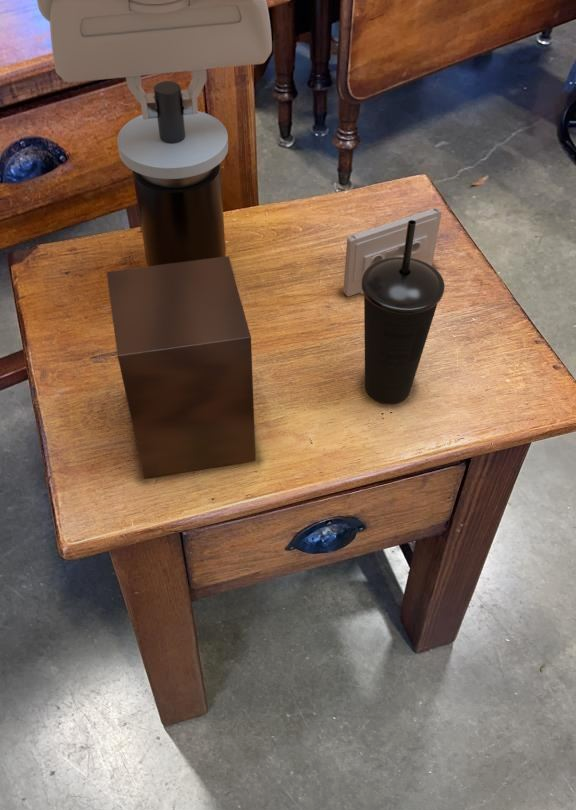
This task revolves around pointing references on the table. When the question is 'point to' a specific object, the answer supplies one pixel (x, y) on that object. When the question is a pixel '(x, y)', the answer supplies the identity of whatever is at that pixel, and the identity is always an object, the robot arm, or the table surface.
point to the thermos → (181, 217)
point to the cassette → (389, 246)
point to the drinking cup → (397, 321)
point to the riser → (185, 364)
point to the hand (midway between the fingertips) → (170, 113)
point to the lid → (172, 139)
